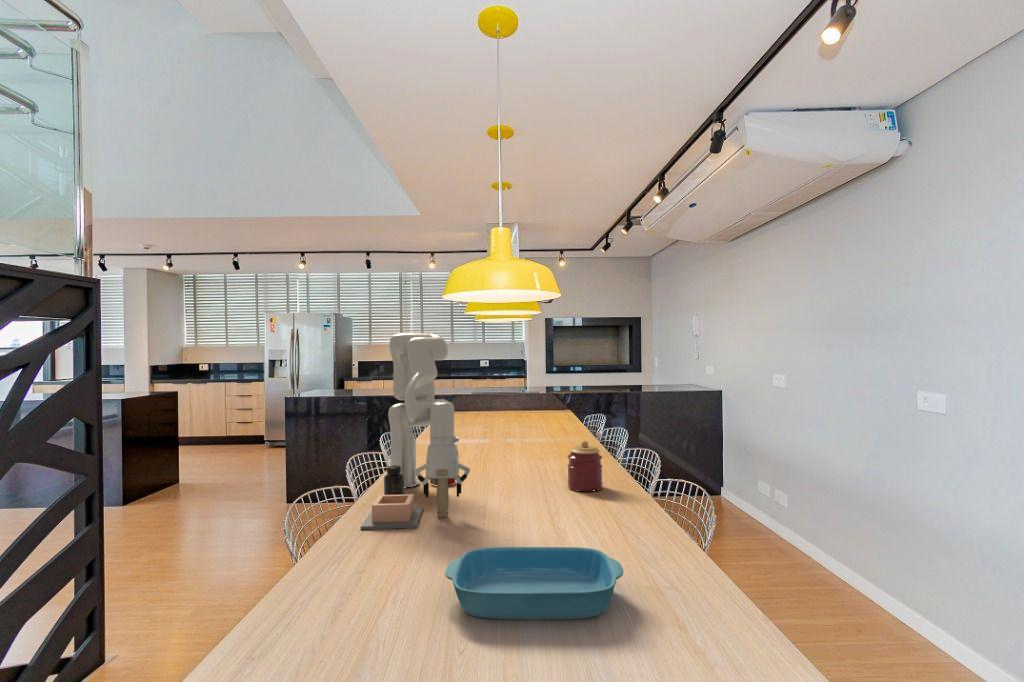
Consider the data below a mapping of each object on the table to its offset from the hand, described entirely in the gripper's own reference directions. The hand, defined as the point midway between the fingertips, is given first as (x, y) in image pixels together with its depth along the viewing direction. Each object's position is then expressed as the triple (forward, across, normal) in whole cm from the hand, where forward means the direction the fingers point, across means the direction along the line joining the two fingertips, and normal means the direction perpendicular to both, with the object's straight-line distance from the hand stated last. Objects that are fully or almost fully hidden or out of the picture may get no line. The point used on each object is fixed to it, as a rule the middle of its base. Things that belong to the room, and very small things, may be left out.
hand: (442, 496), depth 161 cm
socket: (+6, +15, +1) cm, 16 cm away
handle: (+7, 0, 0) cm, 7 cm away
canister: (+7, -51, -29) cm, 59 cm away
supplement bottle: (+7, +18, -18) cm, 26 cm away
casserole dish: (+7, -23, +55) cm, 60 cm away
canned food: (+7, +3, -41) cm, 42 cm away
